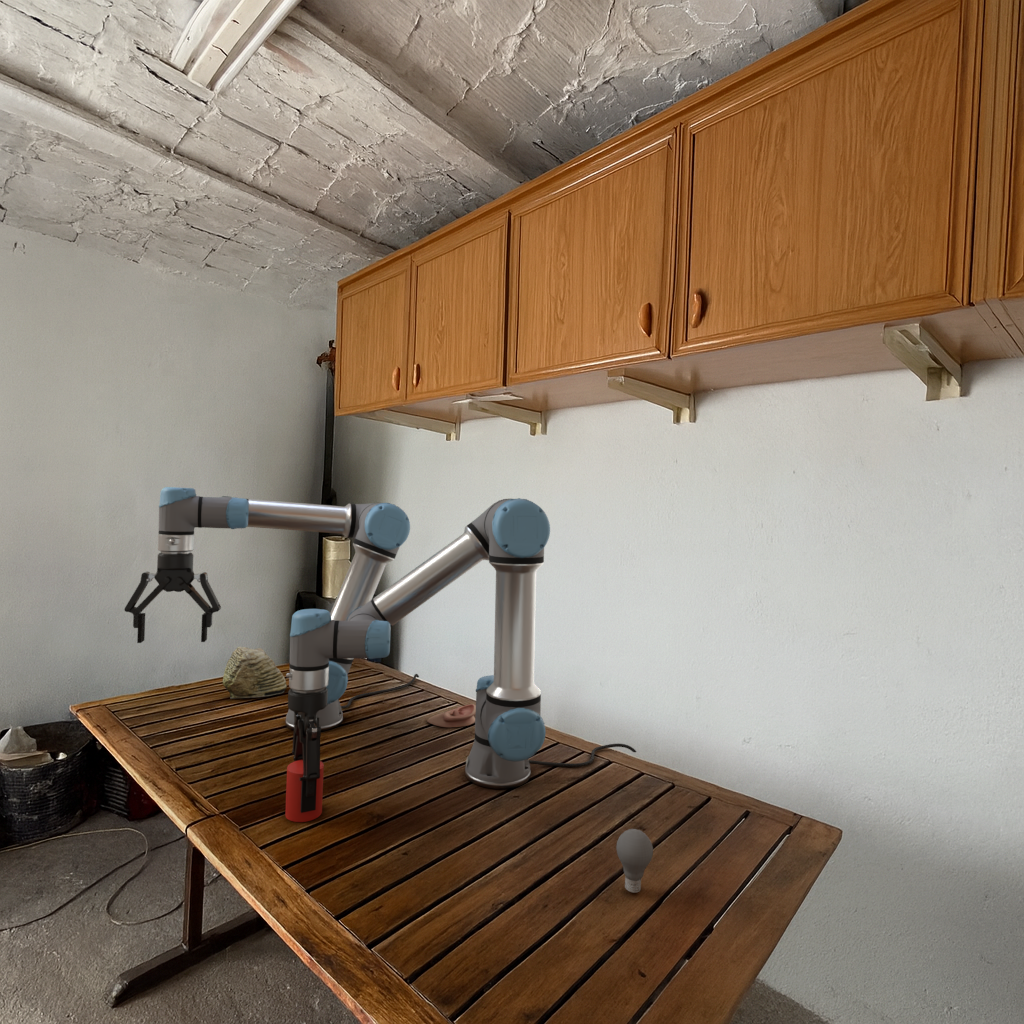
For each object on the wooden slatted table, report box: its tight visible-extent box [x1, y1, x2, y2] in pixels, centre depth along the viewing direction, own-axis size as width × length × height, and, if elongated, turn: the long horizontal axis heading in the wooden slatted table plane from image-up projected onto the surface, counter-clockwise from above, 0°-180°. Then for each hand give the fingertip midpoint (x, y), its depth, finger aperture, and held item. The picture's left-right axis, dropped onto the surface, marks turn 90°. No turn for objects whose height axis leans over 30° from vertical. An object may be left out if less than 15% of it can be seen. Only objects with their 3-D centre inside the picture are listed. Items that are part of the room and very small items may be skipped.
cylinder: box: [284, 760, 325, 823], centre depth 126 cm, size 7×7×10 cm
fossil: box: [222, 646, 288, 699], centre depth 198 cm, size 9×18×15 cm, turn 132°
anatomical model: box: [426, 703, 476, 728], centre depth 182 cm, size 13×4×12 cm
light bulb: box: [615, 828, 654, 894], centre depth 106 cm, size 6×6×10 cm
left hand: (172, 641), depth 151 cm, fingers open, 13 cm apart
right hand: (304, 801), depth 127 cm, fingers closed on cylinder, 7 cm apart
